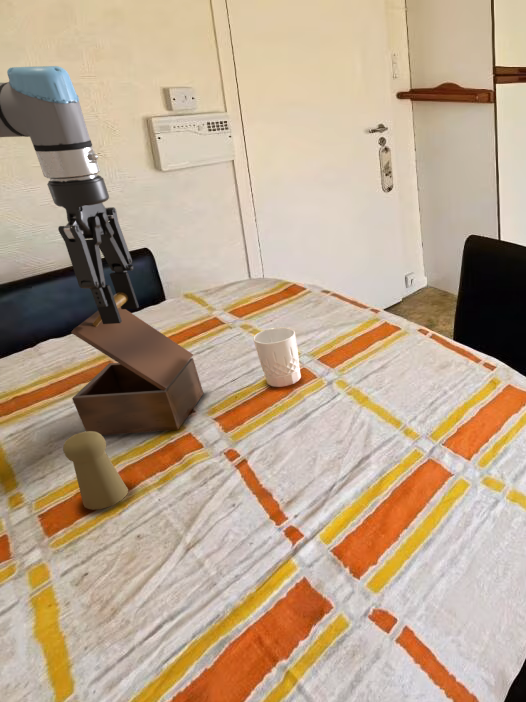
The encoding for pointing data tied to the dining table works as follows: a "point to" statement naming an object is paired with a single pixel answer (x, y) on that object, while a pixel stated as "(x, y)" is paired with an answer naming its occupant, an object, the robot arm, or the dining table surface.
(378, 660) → the dining table surface
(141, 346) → the lid
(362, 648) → the dining table surface
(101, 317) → the robot arm
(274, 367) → the white cup
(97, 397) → the chest
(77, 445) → the cork
